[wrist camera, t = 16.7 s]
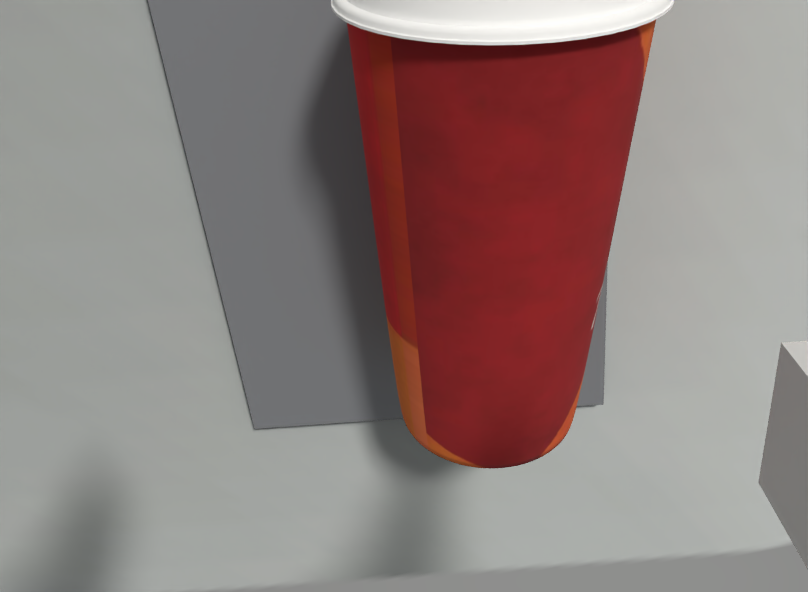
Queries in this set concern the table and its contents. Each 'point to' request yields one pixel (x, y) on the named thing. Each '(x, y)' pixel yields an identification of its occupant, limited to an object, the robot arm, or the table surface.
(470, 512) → the table surface
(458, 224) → the coffee cup
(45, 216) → the table surface
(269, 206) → the mat
